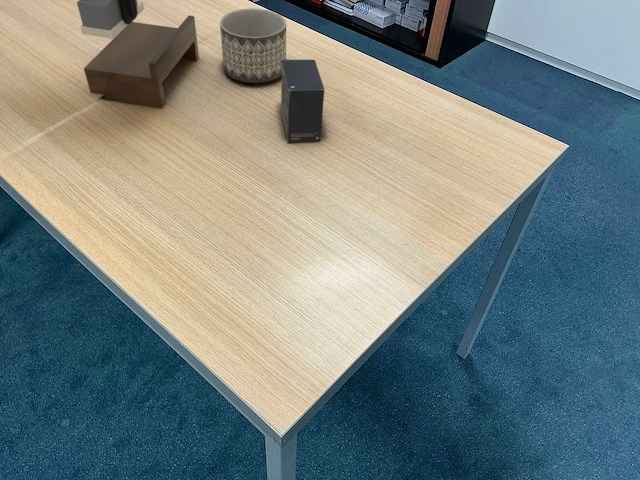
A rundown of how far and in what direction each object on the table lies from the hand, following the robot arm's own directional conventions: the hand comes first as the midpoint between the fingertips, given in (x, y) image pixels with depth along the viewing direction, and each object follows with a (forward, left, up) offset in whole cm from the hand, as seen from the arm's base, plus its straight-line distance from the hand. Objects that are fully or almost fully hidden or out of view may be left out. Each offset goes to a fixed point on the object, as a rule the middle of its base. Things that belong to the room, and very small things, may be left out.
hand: (113, 16), depth 86 cm
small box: (+26, +15, -19) cm, 35 cm away
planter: (+8, +26, -19) cm, 33 cm away
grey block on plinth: (0, 0, -1) cm, 1 cm away
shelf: (-8, +12, -18) cm, 23 cm away
